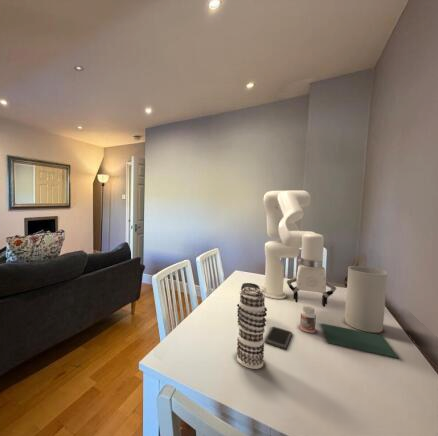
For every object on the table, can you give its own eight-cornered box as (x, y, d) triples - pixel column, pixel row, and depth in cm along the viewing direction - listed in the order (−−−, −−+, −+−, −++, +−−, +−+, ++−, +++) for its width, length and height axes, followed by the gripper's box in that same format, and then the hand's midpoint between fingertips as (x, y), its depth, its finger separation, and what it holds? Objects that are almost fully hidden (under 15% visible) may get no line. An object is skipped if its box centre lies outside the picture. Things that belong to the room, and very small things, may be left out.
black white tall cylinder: (262, 373, 78) (266, 297, 76) (232, 363, 83) (235, 291, 81) (266, 357, 85) (269, 288, 83) (238, 349, 90) (240, 283, 88)
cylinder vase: (375, 322, 110) (379, 268, 108) (388, 336, 99) (393, 276, 97) (341, 316, 115) (344, 264, 114) (349, 329, 104) (353, 272, 102)
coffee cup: (258, 314, 118) (259, 283, 117) (260, 322, 110) (261, 289, 109) (239, 311, 121) (240, 281, 120) (240, 319, 113) (241, 287, 112)
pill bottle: (299, 329, 104) (300, 307, 103) (301, 325, 108) (302, 303, 107) (314, 334, 100) (315, 311, 99) (315, 329, 104) (317, 307, 104)
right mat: (328, 343, 94) (328, 342, 94) (321, 324, 108) (321, 323, 108) (398, 358, 85) (399, 357, 85) (381, 336, 99) (381, 335, 99)
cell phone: (264, 342, 94) (264, 340, 94) (272, 327, 105) (272, 325, 105) (285, 349, 90) (285, 347, 90) (292, 333, 101) (292, 331, 101)
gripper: (287, 262, 102) (286, 302, 103) (339, 267, 94) (337, 311, 95) (287, 259, 109) (285, 296, 110) (335, 263, 101) (333, 304, 102)
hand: (309, 303), depth 103 cm, fingers open, 9 cm apart
